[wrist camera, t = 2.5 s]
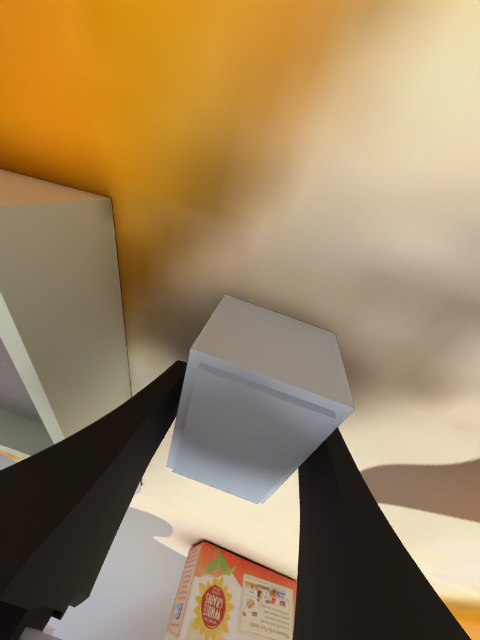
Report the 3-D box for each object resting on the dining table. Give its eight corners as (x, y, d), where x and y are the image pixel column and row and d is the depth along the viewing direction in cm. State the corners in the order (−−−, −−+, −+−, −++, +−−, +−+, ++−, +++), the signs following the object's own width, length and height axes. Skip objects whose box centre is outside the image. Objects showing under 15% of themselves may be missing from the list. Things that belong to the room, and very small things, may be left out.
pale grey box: (270, 427, 14) (262, 509, 10) (196, 400, 14) (163, 472, 11) (334, 331, 10) (357, 416, 6) (226, 292, 10) (186, 353, 6)
